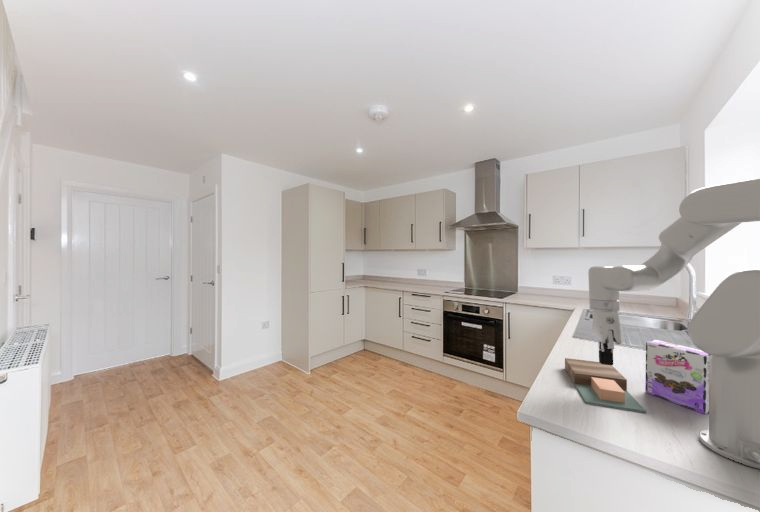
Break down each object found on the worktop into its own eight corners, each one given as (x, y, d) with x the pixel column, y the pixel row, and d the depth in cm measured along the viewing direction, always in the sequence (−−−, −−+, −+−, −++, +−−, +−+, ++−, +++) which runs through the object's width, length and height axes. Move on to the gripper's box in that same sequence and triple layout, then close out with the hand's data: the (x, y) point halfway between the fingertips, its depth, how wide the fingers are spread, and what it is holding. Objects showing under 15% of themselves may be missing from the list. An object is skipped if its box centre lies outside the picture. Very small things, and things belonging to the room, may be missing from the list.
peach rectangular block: (625, 402, 84) (625, 392, 84) (600, 398, 86) (600, 388, 86) (613, 389, 92) (613, 380, 92) (591, 386, 95) (591, 377, 95)
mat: (646, 413, 80) (646, 410, 80) (585, 403, 85) (585, 401, 85) (627, 393, 91) (627, 391, 91) (575, 385, 97) (575, 383, 97)
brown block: (626, 392, 92) (626, 379, 92) (574, 384, 97) (574, 373, 97) (609, 374, 106) (609, 363, 106) (565, 368, 111) (565, 358, 111)
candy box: (644, 392, 92) (644, 340, 92) (655, 389, 94) (655, 338, 94) (705, 415, 79) (705, 354, 79) (716, 410, 81) (717, 352, 81)
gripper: (629, 309, 83) (631, 374, 82) (610, 302, 97) (612, 358, 96) (597, 308, 86) (599, 370, 85) (583, 301, 100) (585, 355, 99)
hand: (606, 363), depth 91 cm, fingers closed
